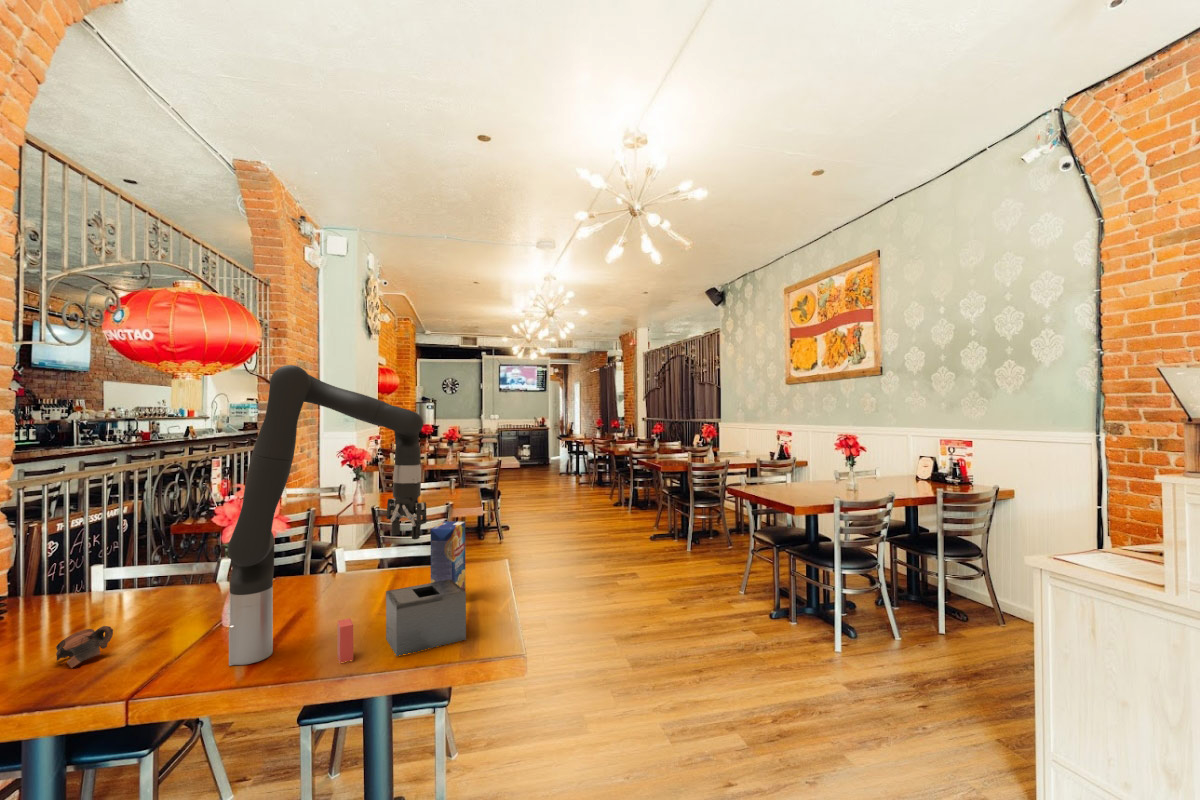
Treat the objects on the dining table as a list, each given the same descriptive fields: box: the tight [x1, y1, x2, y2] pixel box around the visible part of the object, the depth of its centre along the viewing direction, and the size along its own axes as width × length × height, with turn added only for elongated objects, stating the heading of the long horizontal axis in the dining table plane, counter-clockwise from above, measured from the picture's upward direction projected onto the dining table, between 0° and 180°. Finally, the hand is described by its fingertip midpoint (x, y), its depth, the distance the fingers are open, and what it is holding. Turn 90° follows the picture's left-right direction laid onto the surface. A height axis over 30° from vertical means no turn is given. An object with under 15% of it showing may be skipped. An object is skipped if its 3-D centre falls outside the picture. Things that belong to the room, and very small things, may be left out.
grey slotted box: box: [385, 580, 467, 657], centre depth 146 cm, size 18×13×13 cm
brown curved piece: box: [55, 625, 114, 669], centre depth 136 cm, size 12×9×8 cm
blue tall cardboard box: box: [430, 520, 467, 593], centre depth 179 cm, size 12×8×24 cm, turn 175°
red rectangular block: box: [337, 617, 354, 664], centre depth 135 cm, size 3×5×9 cm, turn 33°
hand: (405, 536), depth 154 cm, fingers open, 8 cm apart
